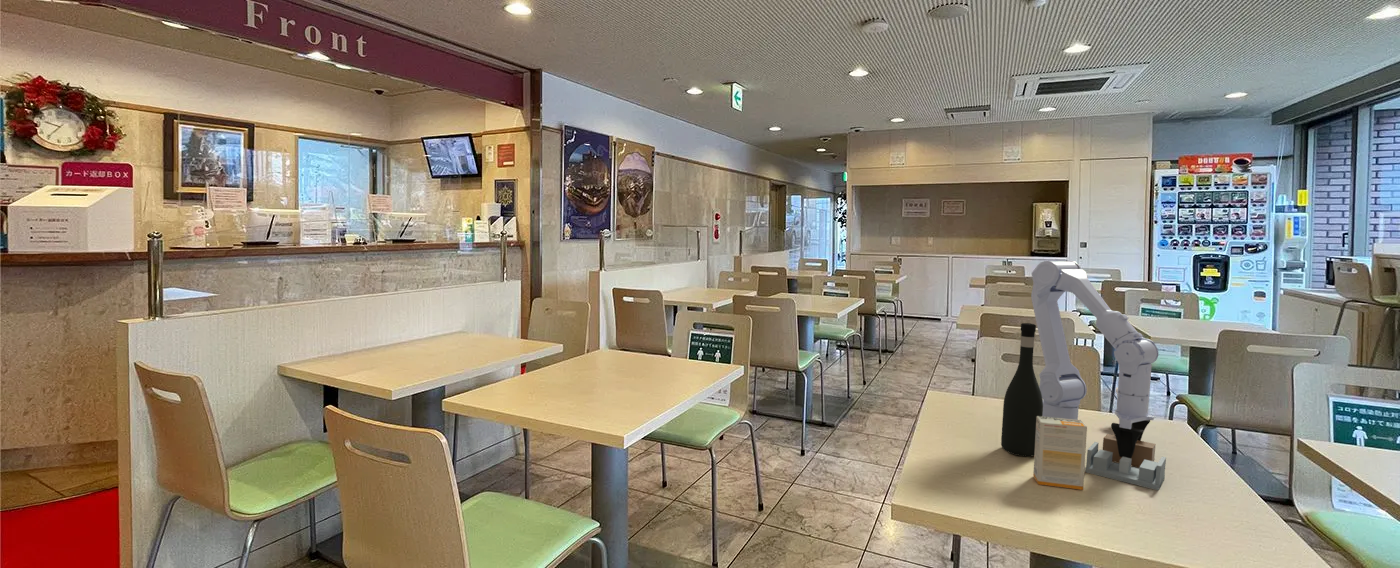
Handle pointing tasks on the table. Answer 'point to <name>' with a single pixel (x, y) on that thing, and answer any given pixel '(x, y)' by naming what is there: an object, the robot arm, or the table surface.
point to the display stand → (1125, 468)
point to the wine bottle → (1022, 401)
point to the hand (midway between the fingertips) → (1128, 453)
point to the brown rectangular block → (1140, 452)
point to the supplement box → (1060, 452)
